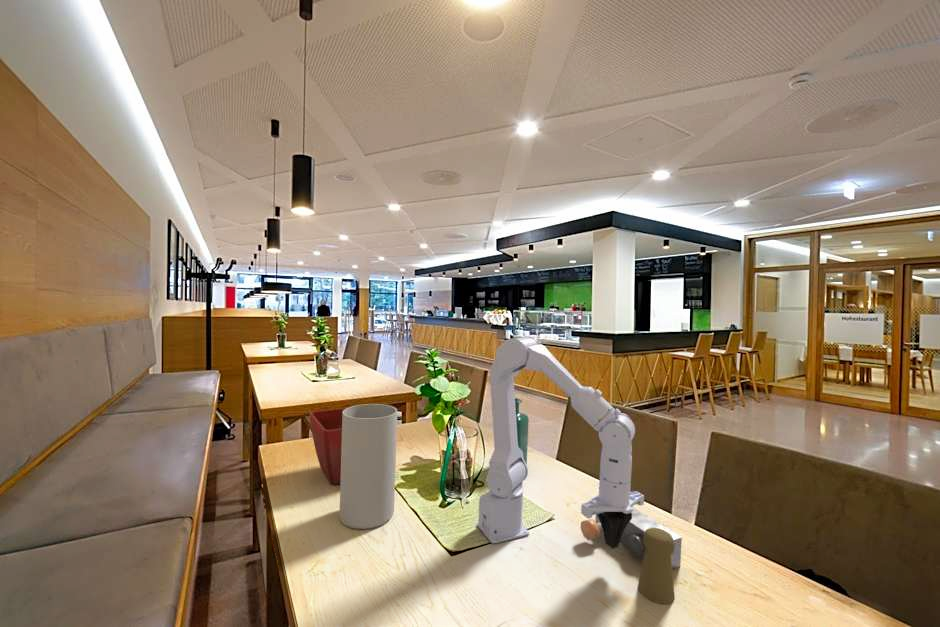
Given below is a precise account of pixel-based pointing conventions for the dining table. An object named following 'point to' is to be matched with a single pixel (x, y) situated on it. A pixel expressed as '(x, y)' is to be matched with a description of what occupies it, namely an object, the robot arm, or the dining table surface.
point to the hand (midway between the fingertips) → (611, 545)
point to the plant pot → (328, 441)
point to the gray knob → (635, 545)
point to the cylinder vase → (368, 465)
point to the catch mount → (640, 525)
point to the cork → (657, 567)
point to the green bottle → (522, 429)
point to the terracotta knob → (590, 529)
